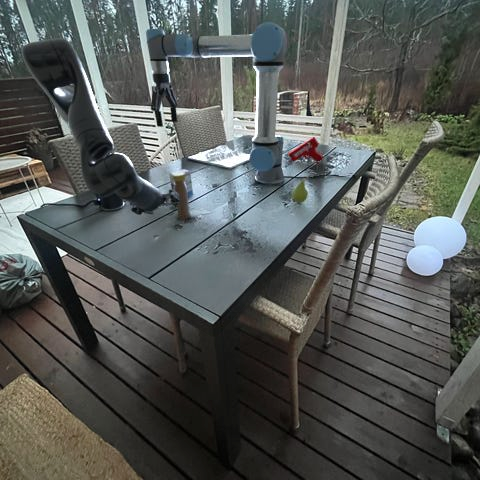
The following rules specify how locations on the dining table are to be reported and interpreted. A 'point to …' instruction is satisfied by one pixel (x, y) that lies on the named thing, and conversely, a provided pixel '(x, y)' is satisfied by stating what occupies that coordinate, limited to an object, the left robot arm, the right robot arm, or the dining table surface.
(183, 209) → the bottle
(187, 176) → the ink box
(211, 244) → the dining table surface
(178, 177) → the cap
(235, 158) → the relief map
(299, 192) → the fruit
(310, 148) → the toy gun
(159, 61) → the right robot arm
